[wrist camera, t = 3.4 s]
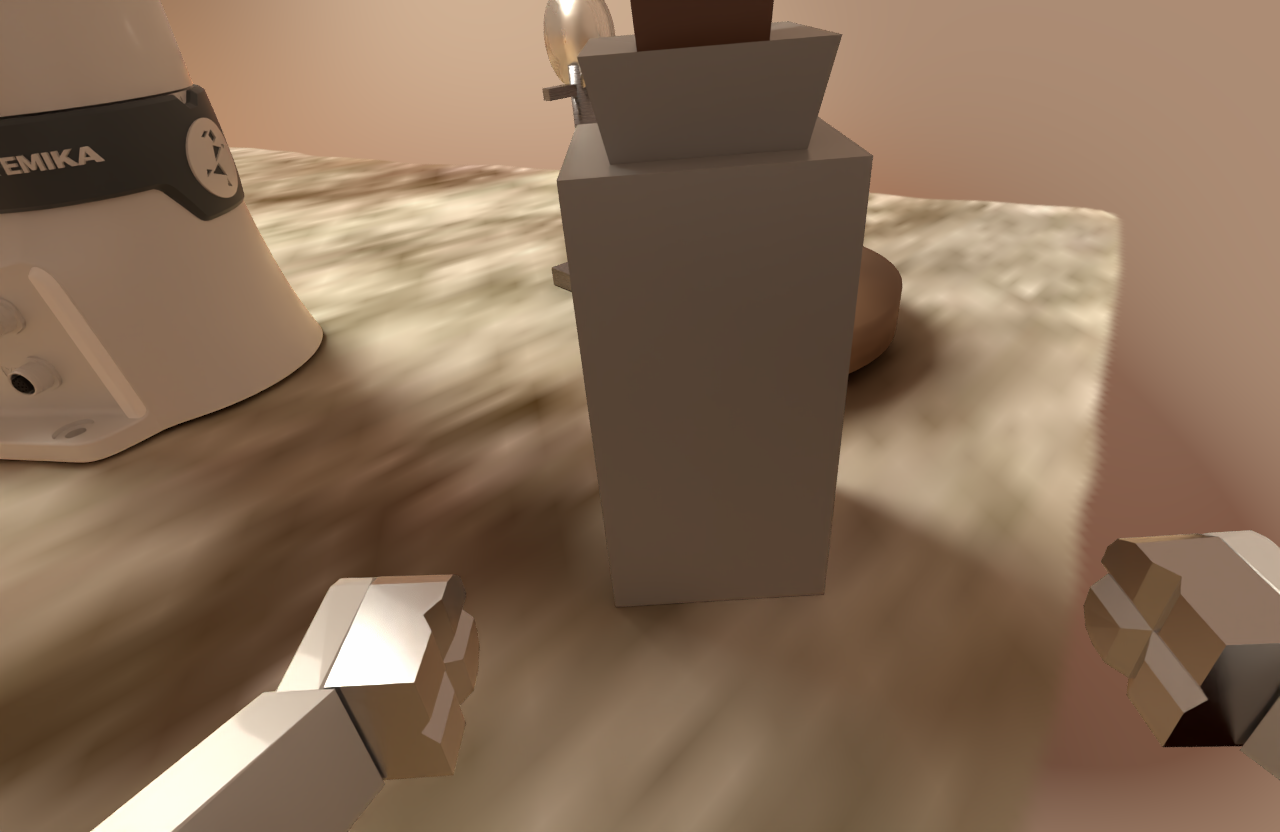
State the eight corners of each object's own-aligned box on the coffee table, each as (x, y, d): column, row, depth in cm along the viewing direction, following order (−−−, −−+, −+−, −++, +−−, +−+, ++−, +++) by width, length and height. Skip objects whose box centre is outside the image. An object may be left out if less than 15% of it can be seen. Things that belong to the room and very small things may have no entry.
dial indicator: (597, 303, 42) (560, -14, 33) (551, 285, 46) (506, -9, 36) (656, 279, 45) (637, -21, 36) (609, 263, 48) (581, -15, 39)
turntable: (600, 404, 31) (594, 352, 29) (603, 276, 44) (599, 236, 43) (947, 375, 31) (958, 322, 29) (845, 256, 44) (848, 215, 42)
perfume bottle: (618, 477, 27) (555, -59, 17) (782, 466, 27) (813, -83, 17) (615, 607, 22) (520, -80, 12) (824, 594, 21) (903, -115, 12)
